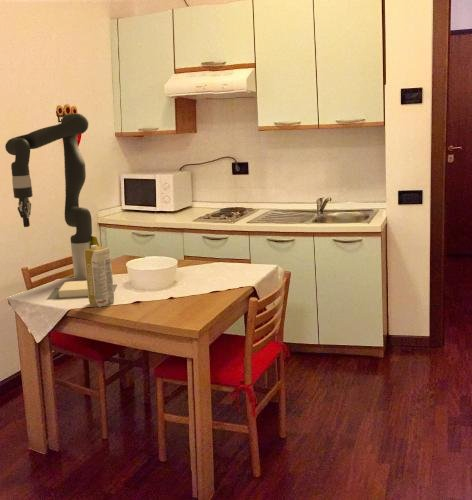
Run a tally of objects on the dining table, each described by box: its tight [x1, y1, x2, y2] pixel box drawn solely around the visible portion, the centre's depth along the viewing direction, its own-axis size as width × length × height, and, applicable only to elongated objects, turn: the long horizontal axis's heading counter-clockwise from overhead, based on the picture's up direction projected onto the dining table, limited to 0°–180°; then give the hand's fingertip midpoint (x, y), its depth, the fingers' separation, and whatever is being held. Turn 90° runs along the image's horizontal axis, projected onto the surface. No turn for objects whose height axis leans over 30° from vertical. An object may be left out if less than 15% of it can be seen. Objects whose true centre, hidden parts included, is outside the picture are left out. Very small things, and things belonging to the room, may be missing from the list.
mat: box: [45, 284, 118, 301], centre depth 276 cm, size 27×18×1 cm, turn 93°
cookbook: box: [59, 280, 88, 298], centre depth 276 cm, size 3×14×20 cm
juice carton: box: [84, 245, 115, 308], centre depth 256 cm, size 9×8×24 cm
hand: (26, 226), depth 274 cm, fingers closed
